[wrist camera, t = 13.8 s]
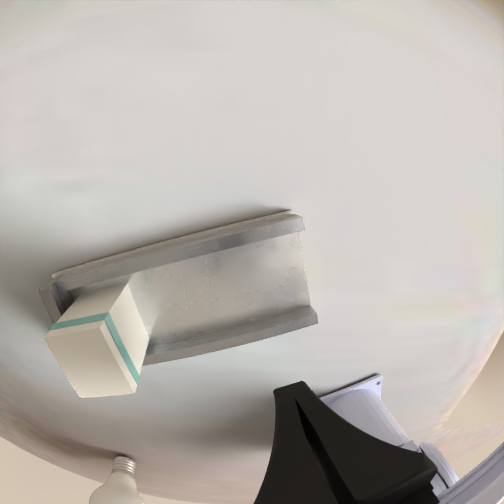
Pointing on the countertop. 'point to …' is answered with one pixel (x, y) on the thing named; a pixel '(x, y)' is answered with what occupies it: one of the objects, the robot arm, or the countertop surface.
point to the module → (100, 343)
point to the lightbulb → (119, 485)
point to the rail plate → (204, 286)
